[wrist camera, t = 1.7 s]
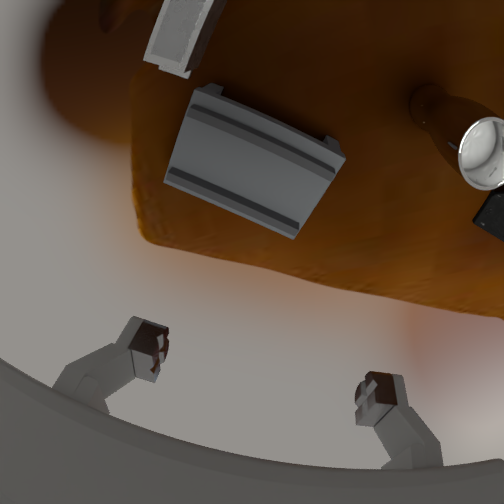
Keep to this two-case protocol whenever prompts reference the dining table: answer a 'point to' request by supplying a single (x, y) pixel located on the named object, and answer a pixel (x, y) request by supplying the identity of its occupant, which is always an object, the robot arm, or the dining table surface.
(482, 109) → the beer glass
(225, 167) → the stand
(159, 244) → the dining table surface
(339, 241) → the dining table surface
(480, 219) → the dark grey angled bracket
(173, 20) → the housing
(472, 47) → the dining table surface
